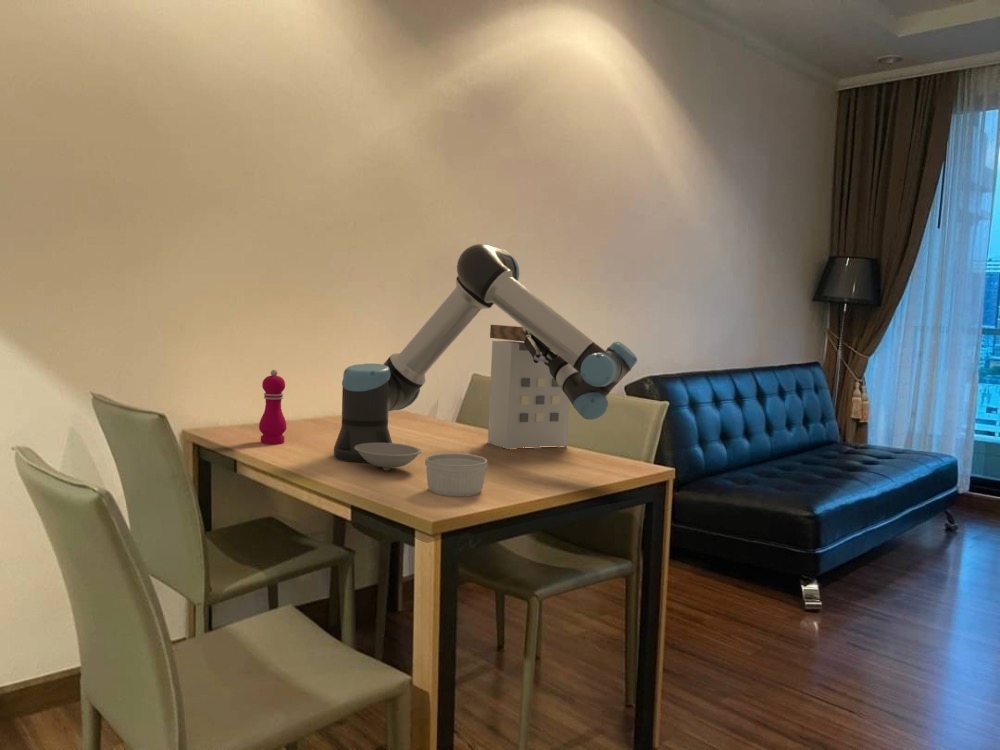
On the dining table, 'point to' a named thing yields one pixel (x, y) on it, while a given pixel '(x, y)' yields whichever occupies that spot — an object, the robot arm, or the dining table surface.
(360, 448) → the dish
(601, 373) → the robot arm
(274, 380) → the pepper mill
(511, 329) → the walnut rod
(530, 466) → the dining table surface
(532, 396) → the tall patterned block
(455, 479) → the ramekin
